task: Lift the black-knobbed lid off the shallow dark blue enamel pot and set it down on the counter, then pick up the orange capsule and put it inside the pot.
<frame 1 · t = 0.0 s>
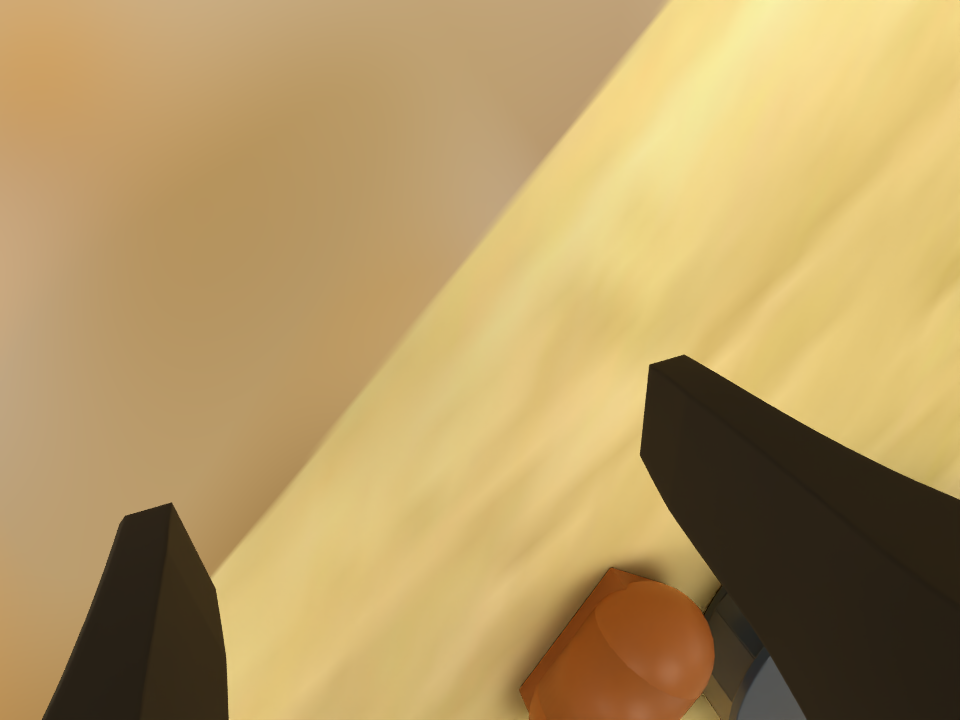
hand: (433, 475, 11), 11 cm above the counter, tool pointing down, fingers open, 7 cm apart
pot lid: (869, 665, 33), point 3 cm above the counter, touching pot
orange capsule: (591, 636, 31), on the counter
pot: (815, 607, 36), on the counter
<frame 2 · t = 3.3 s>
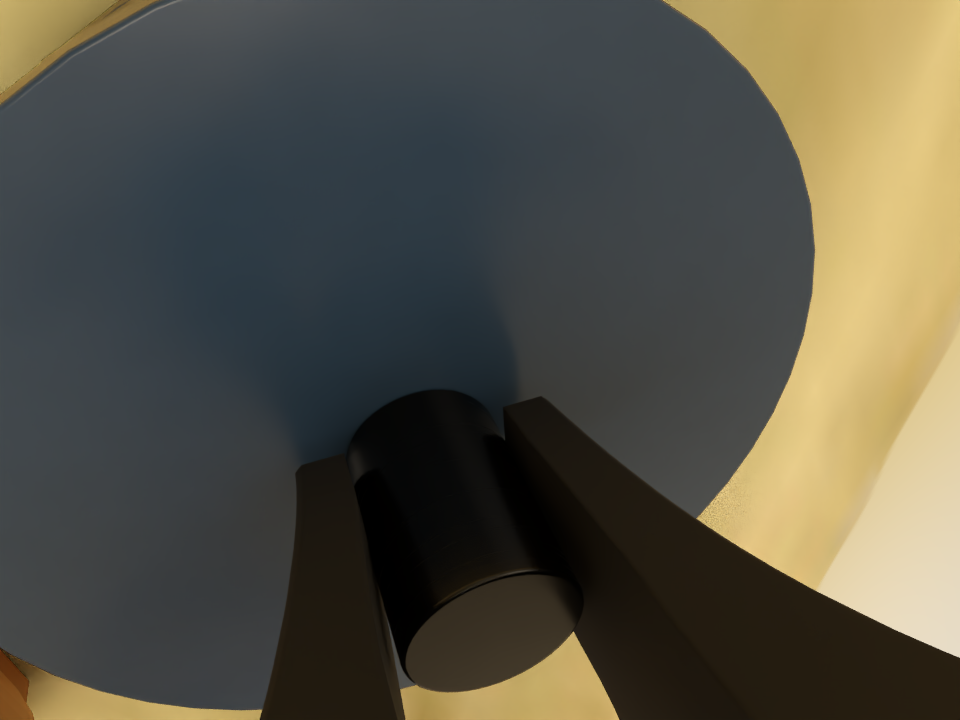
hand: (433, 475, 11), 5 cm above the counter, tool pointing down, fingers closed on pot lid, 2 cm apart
pot lid: (413, 427, 12), point 3 cm above the counter, touching gripper, pot
pot: (368, 311, 15), on the counter
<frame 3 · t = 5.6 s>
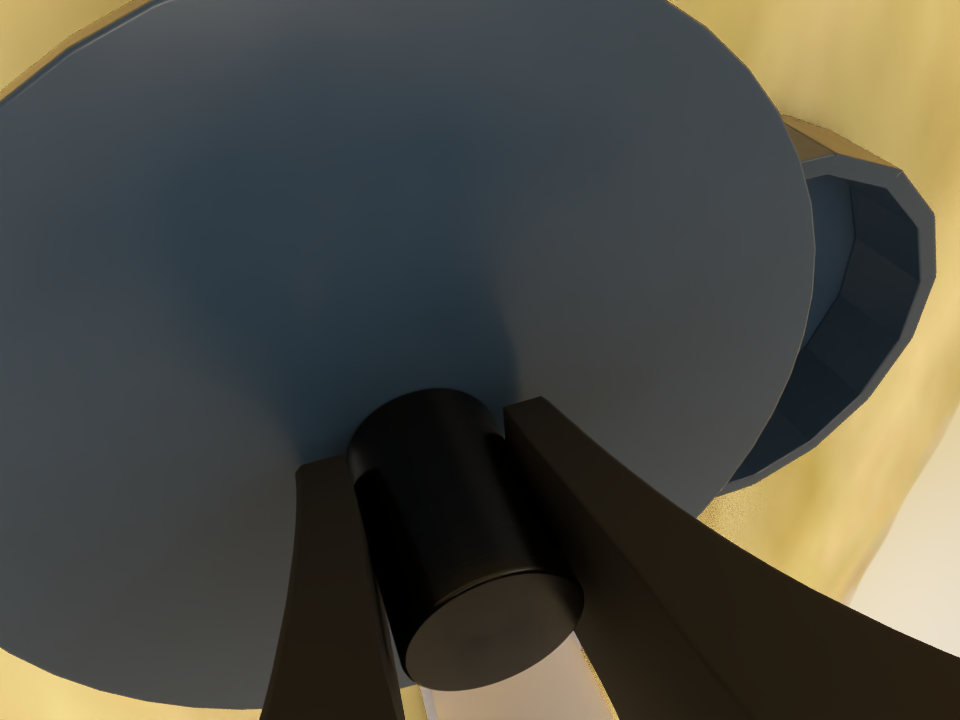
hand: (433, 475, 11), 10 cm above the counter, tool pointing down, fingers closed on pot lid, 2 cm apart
pot lid: (413, 425, 12), point 9 cm above the counter, touching gripper
pot: (693, 300, 26), on the counter
when the fingers open (2 cm above the counter, at t = 8.0 s): pot lid stays where it is, point 1 cm above the counter.
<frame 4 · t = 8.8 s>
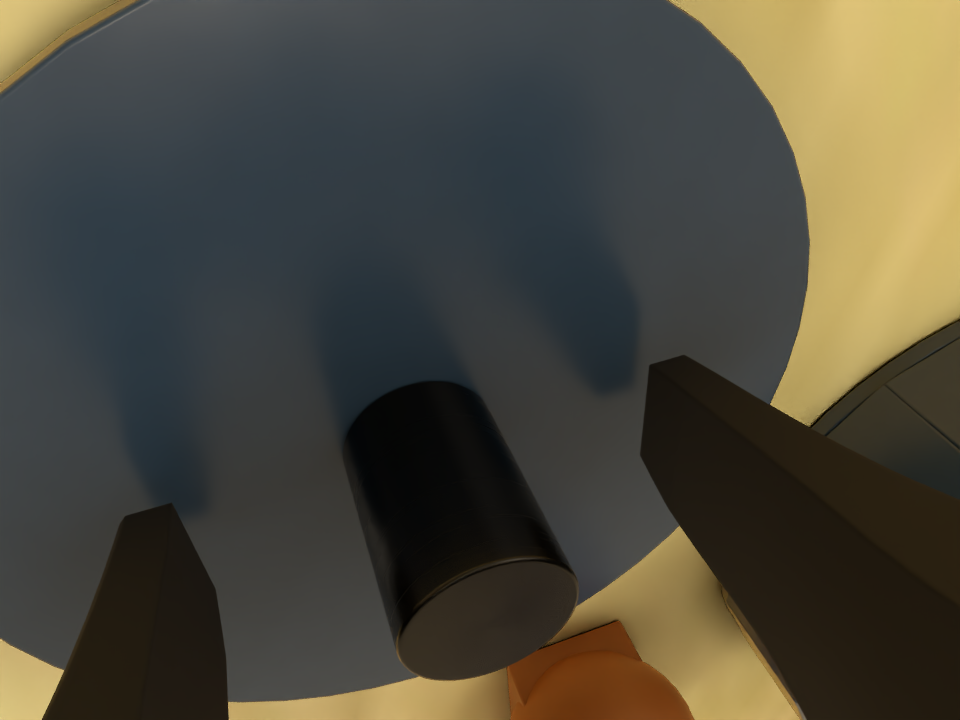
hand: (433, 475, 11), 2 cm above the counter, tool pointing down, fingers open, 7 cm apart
pot lid: (410, 419, 12), point 1 cm above the counter
orange capsule: (562, 701, 22), on the counter
pot: (927, 486, 21), on the counter
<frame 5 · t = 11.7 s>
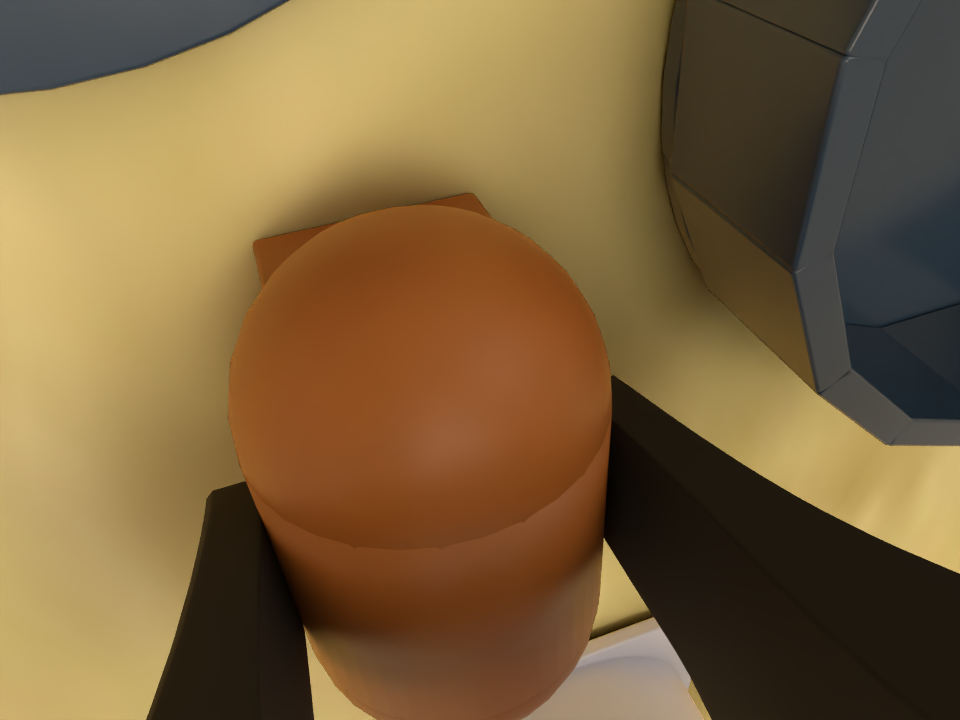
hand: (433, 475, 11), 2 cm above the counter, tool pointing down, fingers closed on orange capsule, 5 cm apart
orange capsule: (398, 392, 13), on the counter, touching gripper
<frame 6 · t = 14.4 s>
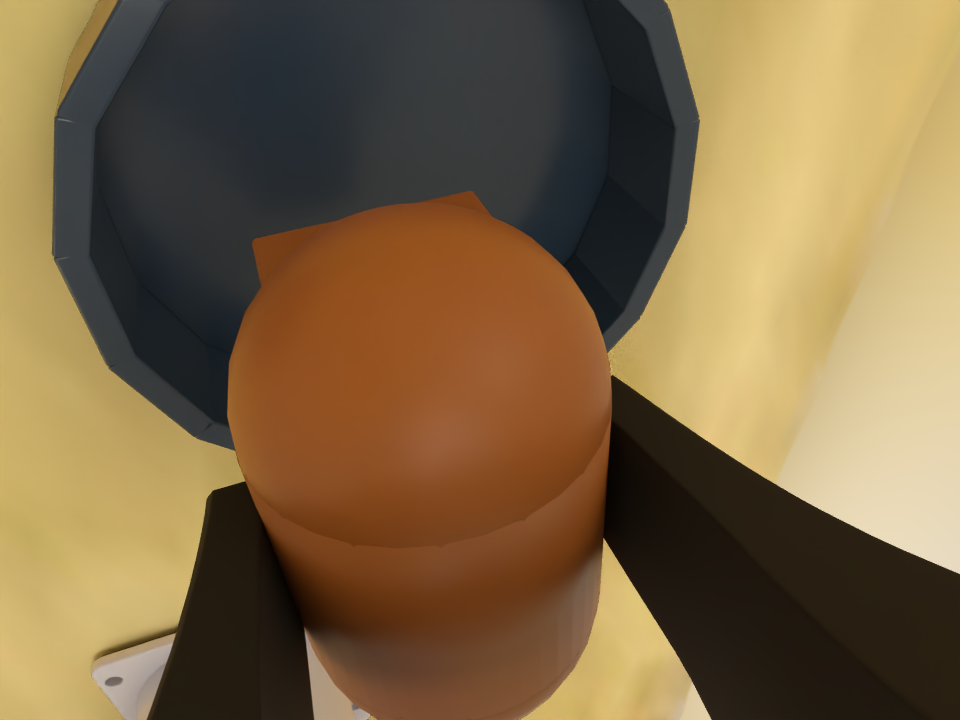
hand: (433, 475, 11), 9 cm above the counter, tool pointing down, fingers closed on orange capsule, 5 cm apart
orange capsule: (397, 390, 13), point 7 cm above the counter, touching gripper
pot: (377, 171, 18), on the counter
when the fingers open (2 cm above the counter, at t = 16.9 s): orange capsule stays where it is, resting on pot.
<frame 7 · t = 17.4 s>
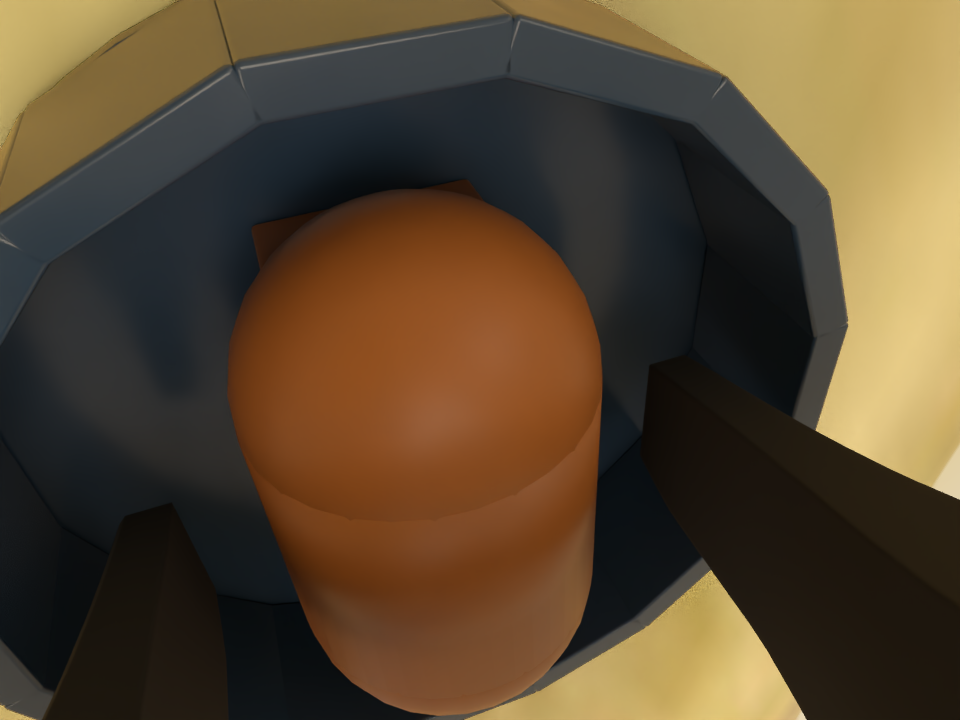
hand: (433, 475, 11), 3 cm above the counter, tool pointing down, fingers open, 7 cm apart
orange capsule: (394, 377, 13), resting on pot
pot: (390, 365, 13), on the counter
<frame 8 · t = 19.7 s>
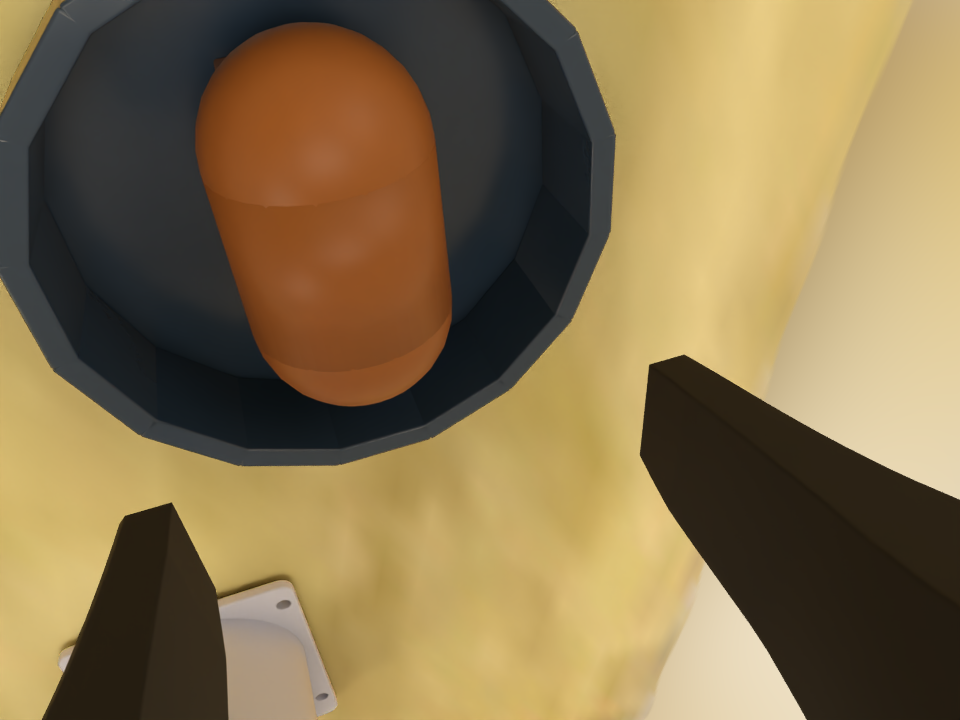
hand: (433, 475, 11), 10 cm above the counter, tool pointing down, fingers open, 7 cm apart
orange capsule: (318, 187, 19), resting on pot
pot: (316, 182, 19), on the counter
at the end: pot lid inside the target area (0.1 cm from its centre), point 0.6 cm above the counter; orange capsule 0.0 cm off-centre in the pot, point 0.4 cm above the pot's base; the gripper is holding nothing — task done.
